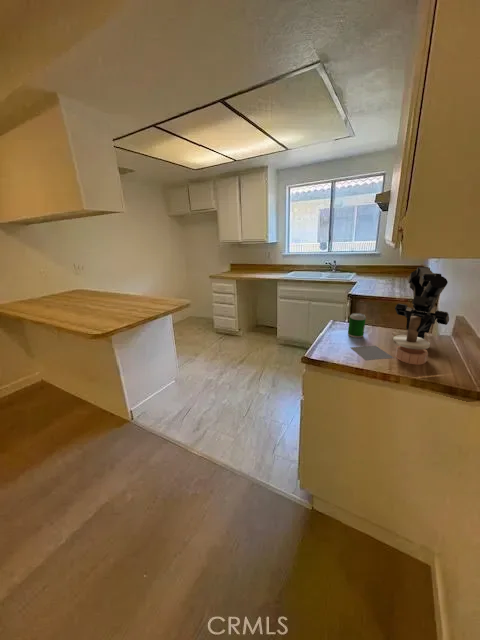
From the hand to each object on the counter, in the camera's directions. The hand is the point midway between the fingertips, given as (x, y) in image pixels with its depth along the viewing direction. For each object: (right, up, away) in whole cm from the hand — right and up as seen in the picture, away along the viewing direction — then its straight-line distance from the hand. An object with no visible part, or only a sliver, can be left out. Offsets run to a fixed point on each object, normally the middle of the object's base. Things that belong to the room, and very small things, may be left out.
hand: (412, 330), depth 109 cm
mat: (-12, -11, +11) cm, 19 cm away
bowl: (+2, -13, +5) cm, 14 cm away
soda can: (-10, -5, +30) cm, 32 cm away
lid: (+1, -5, +3) cm, 6 cm away
